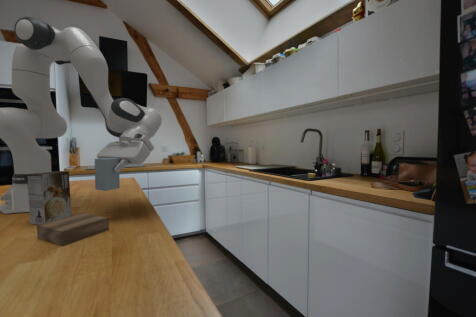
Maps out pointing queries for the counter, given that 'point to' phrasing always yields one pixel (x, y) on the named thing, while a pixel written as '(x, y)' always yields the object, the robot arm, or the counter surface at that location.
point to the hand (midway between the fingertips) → (108, 170)
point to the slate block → (106, 174)
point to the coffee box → (48, 196)
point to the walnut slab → (72, 228)
